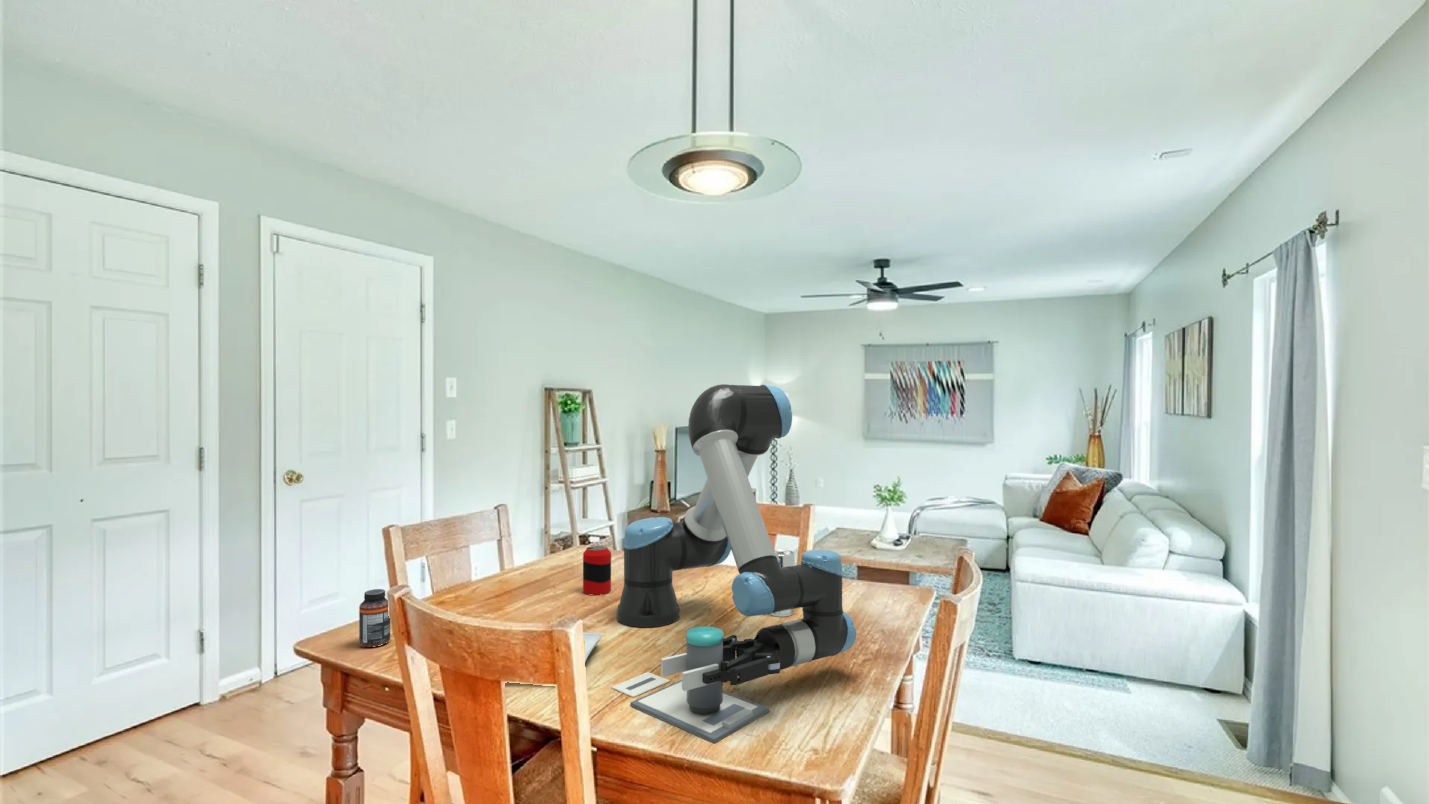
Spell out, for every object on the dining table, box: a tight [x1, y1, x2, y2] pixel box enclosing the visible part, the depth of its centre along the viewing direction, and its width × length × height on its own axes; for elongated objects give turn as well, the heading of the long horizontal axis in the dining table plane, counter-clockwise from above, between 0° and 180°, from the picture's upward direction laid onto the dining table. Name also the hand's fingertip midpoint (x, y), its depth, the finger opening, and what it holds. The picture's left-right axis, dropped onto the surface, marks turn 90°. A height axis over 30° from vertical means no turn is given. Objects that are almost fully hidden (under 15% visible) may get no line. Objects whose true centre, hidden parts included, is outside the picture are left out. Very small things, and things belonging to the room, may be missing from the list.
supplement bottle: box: [358, 588, 391, 648], centre depth 142 cm, size 6×6×11 cm
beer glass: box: [769, 549, 796, 618], centre depth 164 cm, size 7×7×15 cm
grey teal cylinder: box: [685, 625, 724, 715], centre depth 110 cm, size 6×6×12 cm
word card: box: [611, 671, 671, 698], centre depth 121 cm, size 6×9×1 cm, turn 139°
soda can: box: [582, 545, 612, 596], centre depth 182 cm, size 8×8×12 cm
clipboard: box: [629, 679, 770, 744], centre depth 112 cm, size 19×14×1 cm
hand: (672, 674), depth 106 cm, fingers closed on grey teal cylinder, 6 cm apart
